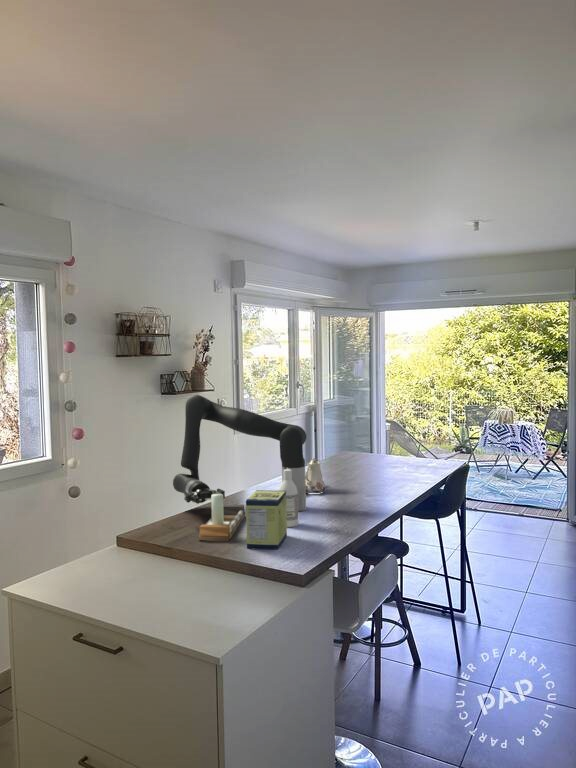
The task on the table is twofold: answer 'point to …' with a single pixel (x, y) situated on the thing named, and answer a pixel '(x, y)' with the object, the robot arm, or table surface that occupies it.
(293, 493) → the bath foam
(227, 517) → the rail
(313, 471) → the chinaware
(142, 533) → the table surface
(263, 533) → the protein box
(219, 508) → the keeper
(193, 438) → the robot arm
